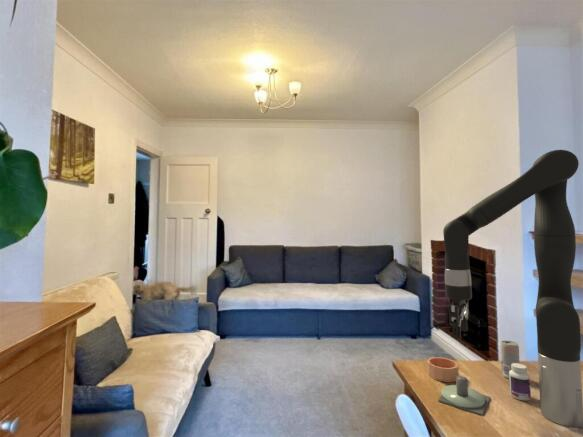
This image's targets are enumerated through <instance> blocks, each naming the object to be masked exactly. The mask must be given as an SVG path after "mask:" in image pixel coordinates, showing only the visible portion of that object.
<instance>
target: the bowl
mask: <svg viewBox="0 0 583 437" xmlns="http://www.w3.org/2000/svg"><path fill="white" fill-rule="evenodd" d="M426 367H427V374H428V376H429V377H430V378H431V377H432V378H431V379H433V378H434V380H435V379H436V381H438V380H439V382H442V381H443V382H442V383H455V382H456V377H457V376H460V374H459V373H460V372H459V364H458V363H457V361H455V360H453V359H450V358H446V357H442V356H441V357H438V356H437V357H436V356H434V357H429V358H428V359H427V366H426ZM454 381H455V382H454Z"/></svg>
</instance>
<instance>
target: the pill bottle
mask: <svg viewBox="0 0 583 437" xmlns="http://www.w3.org/2000/svg"><path fill="white" fill-rule="evenodd" d="M511 369H512V370H510V371H509V379H508V380H509V381H508V382H509V394H510V396H511V397H513V398H514V399H515V400H519V401H522V402H523V401H525V402H526V401H530V400H531V398H532V393H531V376H530V375H529V373H527V372H528V368H527V365H525V364H522V363H520V364H518V363H512V364H511Z"/></svg>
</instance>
